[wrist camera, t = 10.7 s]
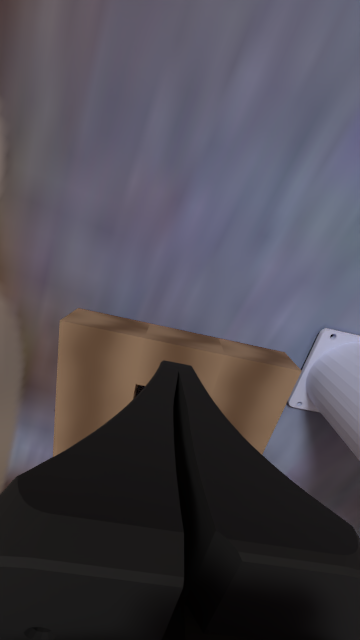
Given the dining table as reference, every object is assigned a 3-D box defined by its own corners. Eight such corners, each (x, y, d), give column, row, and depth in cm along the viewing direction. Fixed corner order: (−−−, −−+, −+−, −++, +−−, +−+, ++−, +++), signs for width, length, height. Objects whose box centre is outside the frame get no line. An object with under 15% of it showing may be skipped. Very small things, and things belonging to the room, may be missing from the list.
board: (284, 352, 20) (301, 371, 17) (235, 464, 24) (243, 494, 22) (78, 308, 19) (59, 320, 16) (68, 435, 23) (52, 462, 20)
